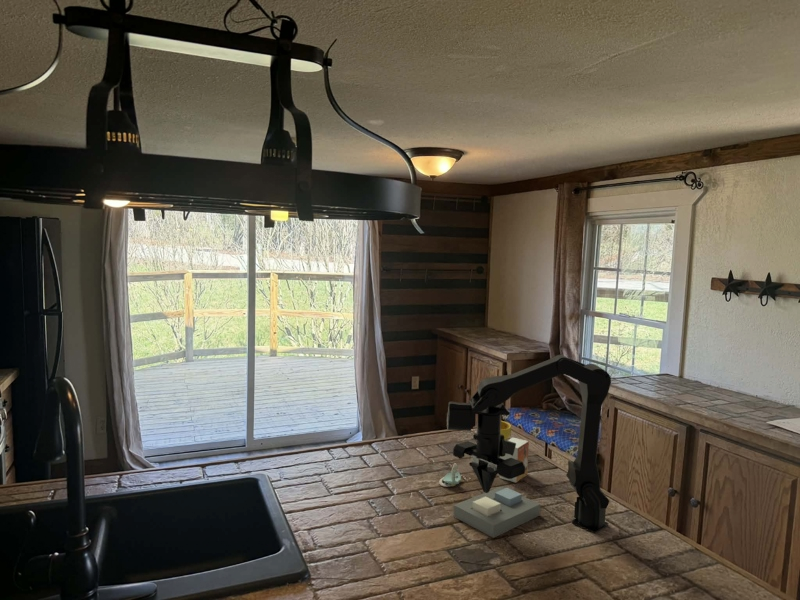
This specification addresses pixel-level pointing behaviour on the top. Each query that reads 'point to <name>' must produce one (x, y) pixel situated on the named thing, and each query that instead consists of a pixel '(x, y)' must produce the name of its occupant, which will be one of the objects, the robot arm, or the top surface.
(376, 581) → the top surface
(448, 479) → the pacifier
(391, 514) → the top surface
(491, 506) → the cream key
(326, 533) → the top surface
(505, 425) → the plant pot
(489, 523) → the keypad
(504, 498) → the slate key
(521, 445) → the small box
